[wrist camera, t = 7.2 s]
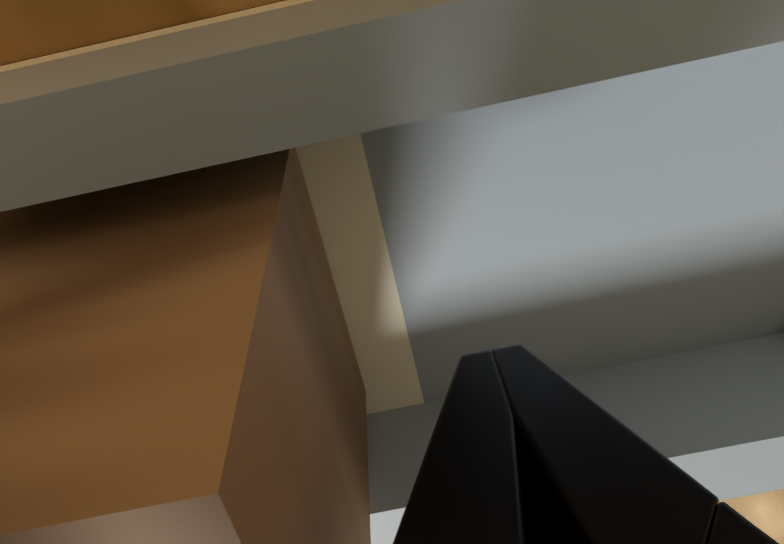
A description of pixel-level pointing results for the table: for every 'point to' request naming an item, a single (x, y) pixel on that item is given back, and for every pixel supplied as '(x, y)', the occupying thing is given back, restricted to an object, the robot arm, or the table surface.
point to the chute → (483, 194)
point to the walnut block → (179, 367)
